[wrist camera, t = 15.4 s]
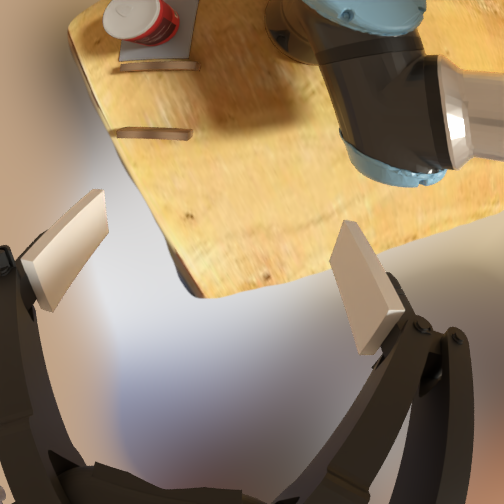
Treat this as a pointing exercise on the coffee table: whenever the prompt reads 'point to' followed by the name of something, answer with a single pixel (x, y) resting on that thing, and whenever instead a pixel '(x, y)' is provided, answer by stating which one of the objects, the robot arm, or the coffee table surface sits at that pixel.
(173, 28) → the canned food
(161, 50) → the mat
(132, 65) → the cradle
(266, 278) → the coffee table surface
